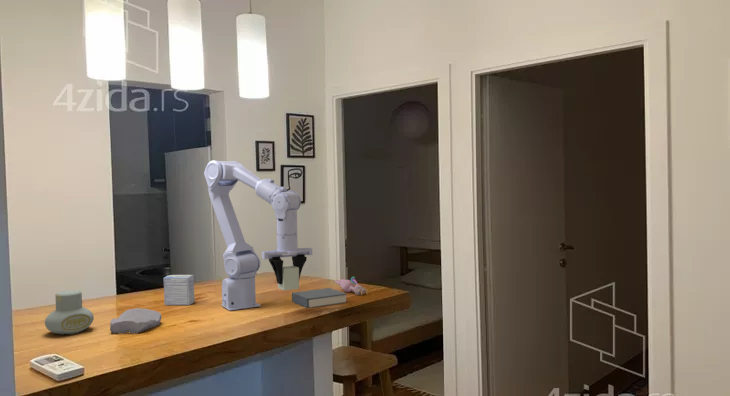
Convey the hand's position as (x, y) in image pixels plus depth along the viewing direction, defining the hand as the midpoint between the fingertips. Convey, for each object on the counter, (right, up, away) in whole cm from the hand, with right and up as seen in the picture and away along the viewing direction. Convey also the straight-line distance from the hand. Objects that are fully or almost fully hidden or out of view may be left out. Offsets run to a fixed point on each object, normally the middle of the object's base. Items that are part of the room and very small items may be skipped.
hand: (288, 282), depth 160 cm
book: (+8, -8, +13) cm, 17 cm away
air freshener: (-53, -10, -17) cm, 56 cm away
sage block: (0, -2, 0) cm, 2 cm away
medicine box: (-35, -9, +14) cm, 39 cm away
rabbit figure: (+17, -8, +27) cm, 33 cm away
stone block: (-37, -10, -14) cm, 40 cm away
